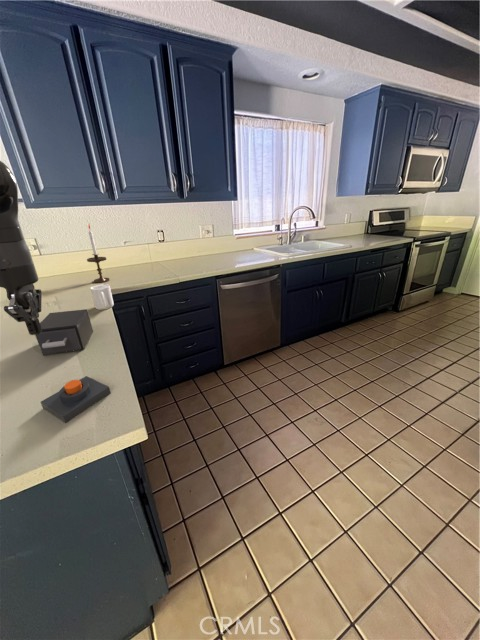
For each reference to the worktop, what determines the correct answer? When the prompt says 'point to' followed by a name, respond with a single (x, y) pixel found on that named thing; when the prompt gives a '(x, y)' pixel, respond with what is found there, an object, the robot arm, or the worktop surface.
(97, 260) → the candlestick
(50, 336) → the drawer
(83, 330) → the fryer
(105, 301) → the cup
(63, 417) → the block
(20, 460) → the worktop surface
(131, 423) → the worktop surface
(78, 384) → the button
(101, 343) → the worktop surface
